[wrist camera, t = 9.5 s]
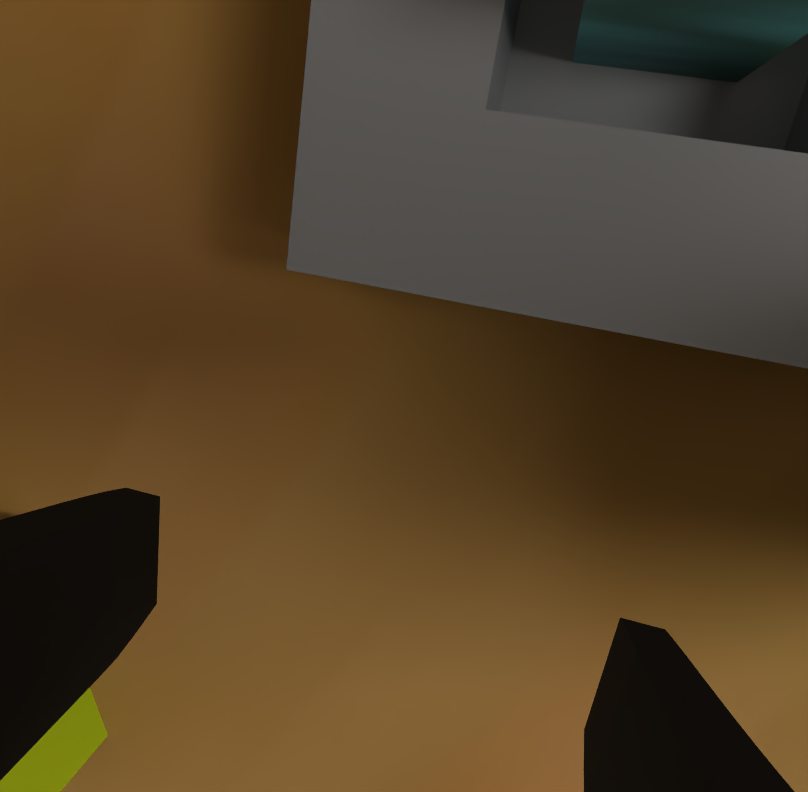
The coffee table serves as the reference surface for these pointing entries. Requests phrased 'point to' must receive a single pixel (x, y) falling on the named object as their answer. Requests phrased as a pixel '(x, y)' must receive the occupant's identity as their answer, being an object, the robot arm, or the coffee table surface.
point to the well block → (553, 175)
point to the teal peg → (689, 35)
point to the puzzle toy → (59, 750)
